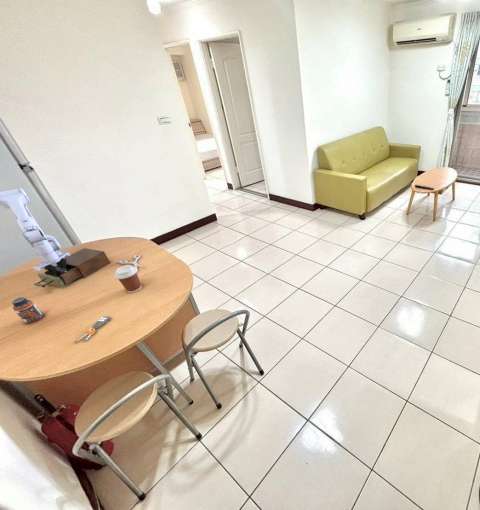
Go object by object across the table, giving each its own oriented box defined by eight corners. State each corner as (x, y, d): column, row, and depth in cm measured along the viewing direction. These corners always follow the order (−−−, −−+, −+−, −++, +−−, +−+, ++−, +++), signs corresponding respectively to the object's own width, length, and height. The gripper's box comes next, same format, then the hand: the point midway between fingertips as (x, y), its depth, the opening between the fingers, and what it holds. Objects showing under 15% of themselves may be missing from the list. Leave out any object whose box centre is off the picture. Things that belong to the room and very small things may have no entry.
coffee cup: (119, 291, 136) (108, 271, 129) (137, 280, 143) (127, 262, 136) (131, 296, 133) (119, 276, 126) (148, 285, 140) (139, 266, 133)
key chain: (103, 318, 121) (101, 315, 120) (110, 318, 121) (109, 316, 120) (76, 341, 110) (74, 339, 109) (85, 342, 110) (83, 340, 109)
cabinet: (84, 277, 145) (77, 265, 141) (64, 273, 148) (56, 261, 144) (110, 262, 157) (103, 251, 153) (91, 259, 160) (84, 247, 156)
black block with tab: (54, 276, 142) (49, 269, 139) (60, 273, 144) (55, 266, 141) (67, 279, 140) (62, 271, 137) (73, 276, 142) (67, 268, 139)
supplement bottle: (27, 325, 117) (10, 306, 111) (23, 320, 120) (5, 301, 114) (45, 317, 121) (29, 298, 115) (40, 312, 124) (25, 293, 118)
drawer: (52, 294, 133) (45, 284, 130) (32, 289, 136) (25, 280, 133) (90, 272, 148) (84, 263, 144) (71, 268, 151) (65, 259, 147)
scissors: (137, 253, 164) (151, 264, 153) (138, 254, 164) (152, 266, 154) (117, 261, 157) (130, 273, 146) (117, 262, 157) (131, 275, 147)
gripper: (34, 261, 127) (51, 284, 134) (68, 245, 139) (81, 267, 146) (24, 259, 128) (41, 281, 136) (57, 244, 140) (72, 265, 148)
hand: (61, 274), depth 141 cm, fingers closed on black block with tab, 3 cm apart
